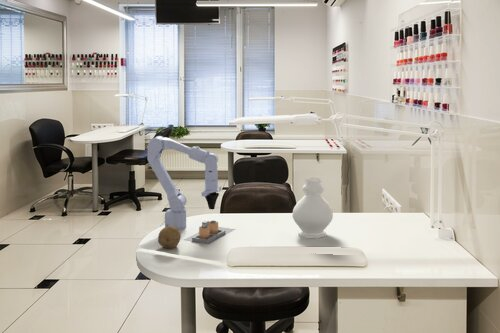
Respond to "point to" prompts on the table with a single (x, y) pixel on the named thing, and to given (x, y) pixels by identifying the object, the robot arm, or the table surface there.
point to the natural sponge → (169, 237)
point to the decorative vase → (312, 210)
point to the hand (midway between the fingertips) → (211, 208)
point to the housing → (212, 238)
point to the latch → (205, 223)
